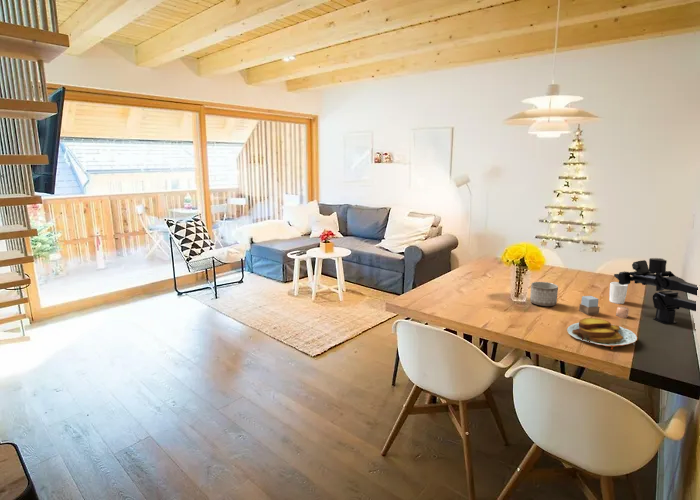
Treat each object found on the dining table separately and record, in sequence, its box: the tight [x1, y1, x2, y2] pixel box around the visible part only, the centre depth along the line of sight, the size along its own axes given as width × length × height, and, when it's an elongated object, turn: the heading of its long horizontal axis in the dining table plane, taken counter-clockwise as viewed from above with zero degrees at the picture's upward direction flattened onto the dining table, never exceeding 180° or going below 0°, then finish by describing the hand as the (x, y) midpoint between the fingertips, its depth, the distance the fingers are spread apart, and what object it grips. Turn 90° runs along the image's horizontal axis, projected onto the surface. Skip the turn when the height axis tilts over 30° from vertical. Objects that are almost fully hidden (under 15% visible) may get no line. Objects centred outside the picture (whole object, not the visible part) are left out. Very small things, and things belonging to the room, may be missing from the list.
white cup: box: [608, 281, 629, 305], centre depth 209 cm, size 8×8×10 cm
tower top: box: [580, 295, 600, 307], centre depth 194 cm, size 5×5×4 cm
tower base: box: [578, 303, 601, 316], centre depth 195 cm, size 6×6×4 cm
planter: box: [529, 281, 559, 307], centre depth 208 cm, size 13×13×10 cm
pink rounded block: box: [615, 306, 630, 319], centre depth 189 cm, size 5×5×4 cm
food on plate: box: [566, 317, 639, 351], centre depth 166 cm, size 25×25×7 cm
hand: (621, 274), depth 204 cm, fingers open, 9 cm apart
